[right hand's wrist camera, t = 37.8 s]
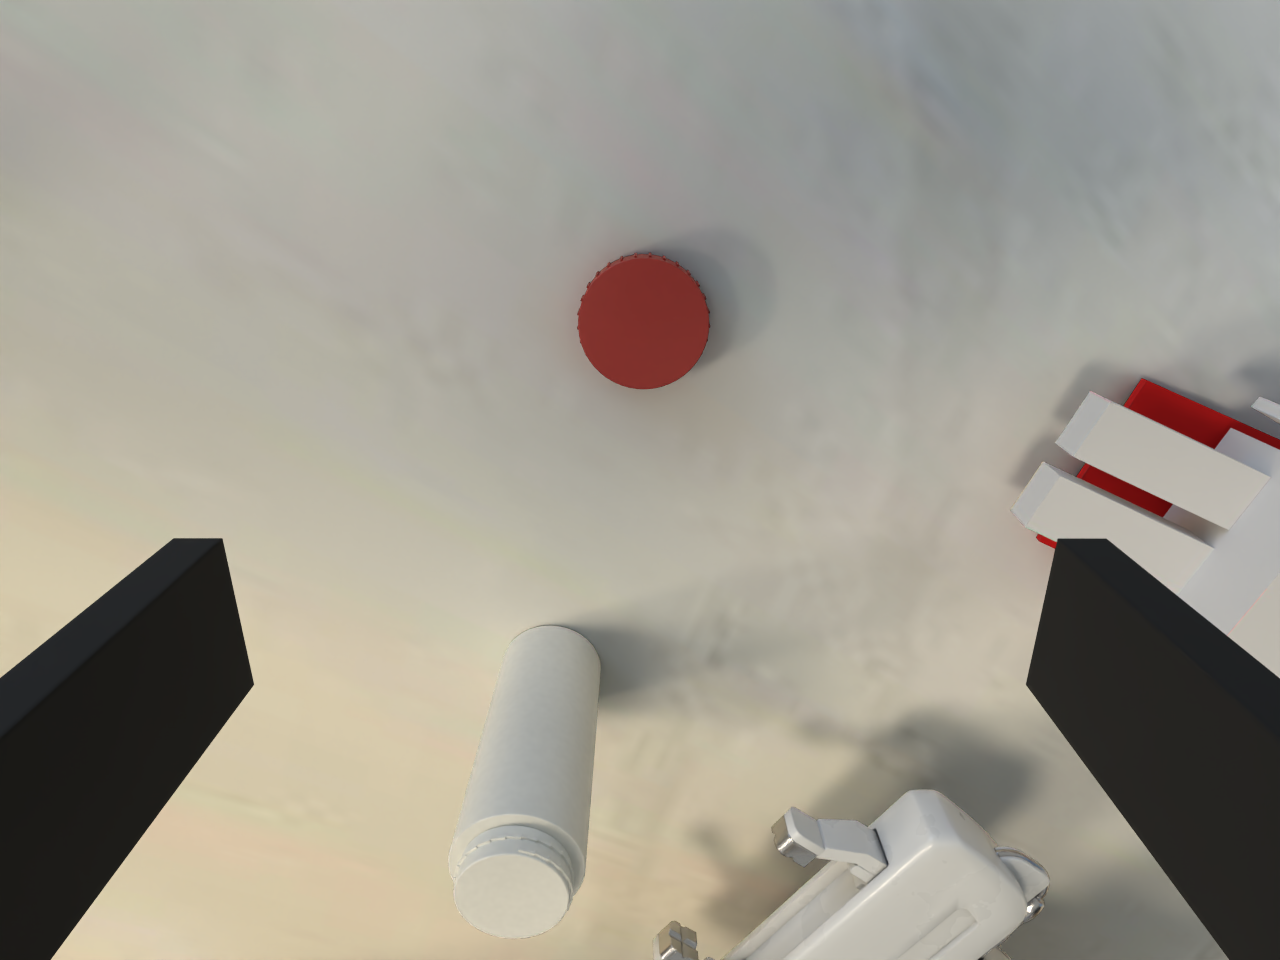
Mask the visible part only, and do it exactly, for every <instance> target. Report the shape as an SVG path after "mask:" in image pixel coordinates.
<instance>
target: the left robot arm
mask: <svg viewBox="0 0 1280 960" xmlns="http://www.w3.org/2000/svg"><path fill="white" fill-rule="evenodd" d="M771 828H772V833H774V834H775V837H774V843H775V846H776V848H777V849H778V851H779V852H780V853H781V854H782V855H784V856H786V857H792V858H793V860H794V862H796V863H797V864H799V865H801V866H802V867H805V866H806V865H808V864H809V863H810V862H811V861H812V860H814V859H815V858H819V859H826V860H831V861H829V862H828V863H827V864H826V865H825V866H824V867H823V868H822V869H821V870H819V871H818V872H817V873H816V874H815V875H814V876H813V877H812V878H811V879H810V880H808V881H807V882H806V883H805V884H804V885H803V886H802V887H801V888H800V889H798V890H797V891H796V892H795V893H794V894H793V895H792V896H791V897H790V898H788V899H787V900H786V901H785V902H784V903H783V904H782V905H781V906H780V907H778V908H777V909H776V910H775V911H774V912H773V913H772V914H771V915H770V916H768V917H767V918H766V919H765V920H764V921H763V922H762V923H761V924H760V925H759V926H757V927H756V928H755V929H754V930H753V931H752V932H751V933H750V934H749V935H747V936H746V937H745V938H744V939H743V940H742V941H741V942H740V943H739V944H737V945H736V946H735V947H734V948H733V949H732V950H731V951H730V952H729V953H727V954H726V955H725V956H724V957H723V958H722V959H721V960H1012V959H1011V958H1010V957H1009V956H1008V955H1007V954H1006V953H1004V952H1003V951H1002V950H1001V949H999V948H998V946H999V945H1000V944H1001V943H1003V942H1004V941H1005V940H1006V939H1007V938H1008V937H1009V936H1010V935H1011V934H1012V933H1013V932H1014V931H1015V929H1017V928H1018V927H1019V926H1020V925H1022V924H1023V923H1024V922H1029V921H1030V920H1032V919H1033V918H1035V917H1036V916H1037V915H1038V914H1039V913H1040V912H1041V911H1042V909H1043V908H1044V906H1045V902H1044V900H1043V898H1044V896H1045V895H1046V894H1047V892H1048V889H1049V886H1050V878H1049V875H1048V873H1047V871H1046V869H1045V868H1044V867H1043V866H1042V865H1040V864H1039V863H1038V862H1037V861H1035V860H1034V859H1032V858H1031V857H1029V856H1028V855H1026V854H1025V853H1023V852H1022V851H1020V850H1018V849H1015V848H1011V847H998V845H997V844H996V842H995V841H994V840H993V839H992V838H991V837H990V835H989V834H988V833H987V832H986V831H985V830H984V829H983V828H982V827H981V826H980V825H979V824H978V823H977V822H976V821H975V820H973V819H972V818H971V817H970V816H969V815H968V814H967V813H966V812H964V811H963V810H962V809H961V808H960V807H958V806H957V805H956V804H955V803H953V802H952V801H951V800H949V799H948V798H947V797H945V796H944V795H943V794H941V793H940V792H938V791H936V790H929V789H920V790H910V791H908V792H906V793H905V794H904V795H903V796H901V797H900V798H899V799H898V800H897V801H896V802H895V803H894V804H893V805H891V806H890V807H889V808H888V809H887V810H886V811H885V812H884V813H883V814H882V815H880V816H879V817H878V818H877V819H876V820H875V821H874V822H873V823H872V824H871V825H869V826H868V827H867V826H865V825H864V824H862V823H860V822H859V821H857V820H838V819H818V820H815V819H814V818H812V817H810V816H809V815H807V814H805V813H804V812H802V811H800V810H799V809H797V808H795V807H791V808H790V809H789V810H788V811H787V812H786V813H785V814H784V815H783V816H782V817H781V818H780V819H779V820H778V821H777V822H776V823H775V824H774V825H773V826H772V827H771ZM696 946H697V937H696V932H695V931H693V930H691V929H689V928H687V927H681V925H680V923H678V922H676V921H672V922H670V923H669V924H668V925H667V926H666V927H665V928H664V929H663V930H662V931H661V932H660V933H659V934H658V935H657V936H656V937H654V939H653V959H654V960H699V959H698V951H697V950H696ZM704 960H714V959H712V958H710V957H706V958H705V959H704Z"/></svg>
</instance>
